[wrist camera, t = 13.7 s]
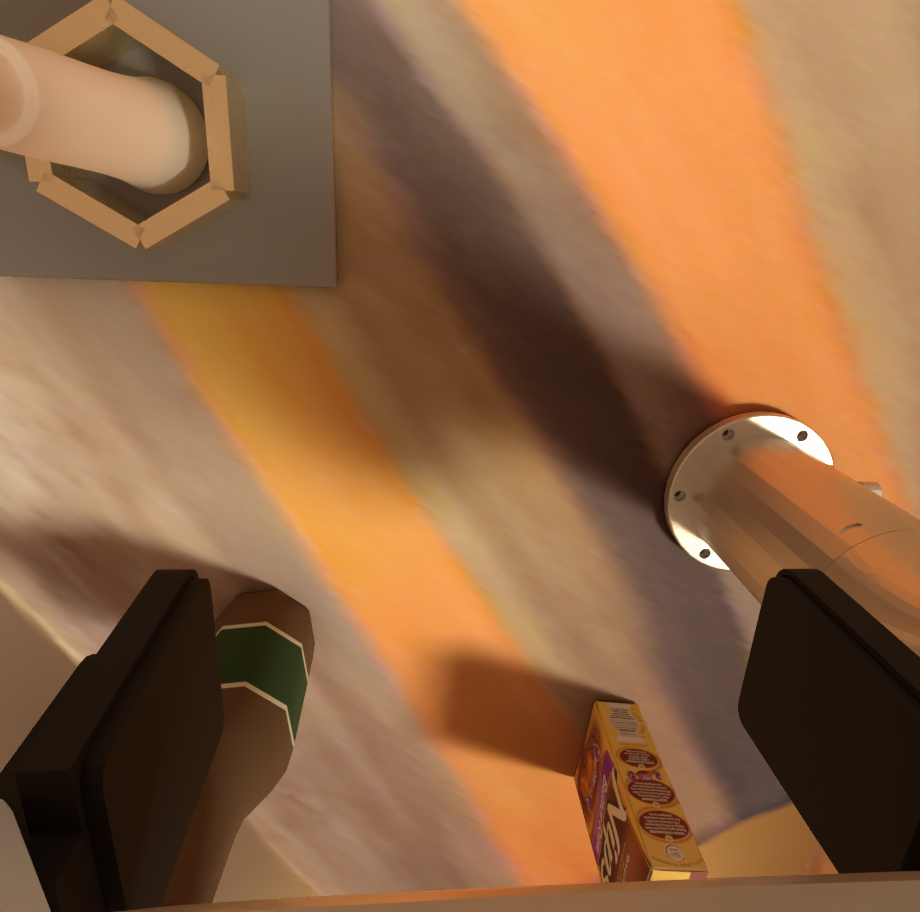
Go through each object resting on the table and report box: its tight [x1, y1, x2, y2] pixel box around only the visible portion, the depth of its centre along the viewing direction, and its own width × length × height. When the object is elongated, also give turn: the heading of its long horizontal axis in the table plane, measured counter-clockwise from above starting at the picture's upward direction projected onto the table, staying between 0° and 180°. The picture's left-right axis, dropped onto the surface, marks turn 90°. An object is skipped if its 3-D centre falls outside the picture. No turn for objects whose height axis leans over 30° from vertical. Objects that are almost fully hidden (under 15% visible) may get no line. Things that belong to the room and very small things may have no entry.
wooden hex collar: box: [25, 0, 251, 249], centre depth 35 cm, size 10×12×4 cm
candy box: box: [574, 701, 709, 883], centre depth 50 cm, size 9×4×15 cm, turn 172°
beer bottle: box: [160, 590, 315, 907], centre depth 39 cm, size 8×8×24 cm
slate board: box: [0, 0, 337, 287], centre depth 38 cm, size 20×16×1 cm
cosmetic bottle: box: [0, 35, 208, 195], centre depth 27 cm, size 6×6×22 cm
